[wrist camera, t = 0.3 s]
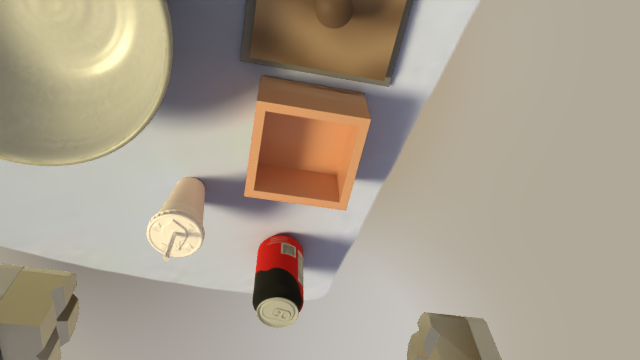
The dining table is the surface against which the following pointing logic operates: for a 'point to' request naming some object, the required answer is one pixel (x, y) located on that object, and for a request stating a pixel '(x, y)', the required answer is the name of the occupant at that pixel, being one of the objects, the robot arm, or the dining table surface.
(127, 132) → the decorative bowl
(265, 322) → the beverage can
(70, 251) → the dining table surface
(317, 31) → the walnut lid
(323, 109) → the terracotta open box
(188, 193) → the smoothie
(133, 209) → the dining table surface
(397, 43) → the rubber mat
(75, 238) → the dining table surface
